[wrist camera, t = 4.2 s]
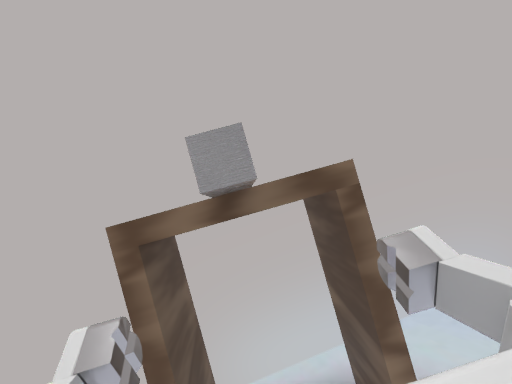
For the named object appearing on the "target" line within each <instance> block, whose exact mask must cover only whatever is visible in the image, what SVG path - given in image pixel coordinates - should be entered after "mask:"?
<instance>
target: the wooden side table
mask: <svg viewBox="0 0 512 384" xmlns="http://www.w3.org/2000/svg"><path fill="white" fill-rule="evenodd" d="M301 199H303V200H304V203H305V207H306V210H307V214H308V217H309V221H310V224H311V228H312V231H313V235H314V238H315V242H316V245H317V249H318V252H319V256H320V260H321V263H322V267H323V270H324V273H325V277H326V281H327V284H328V288H329V291H330V294H331V298H332V302H333V305H334V308H335V312H336V316H337V319H338V323H339V326H340V330H341V333H342V337H343V340H344V344H345V347H346V351H347V354H348V358H349V361H350V365H351V368H352V372H353V375H354V379H355V382H356V384H408V383H411V382H414V381H417V380H416V376H415V373H414V369H413V366H412V362H411V359H410V355H409V352H408V348H407V345H406V342H405V338H404V335H403V331H402V328H401V324H400V321H399V317H398V314H397V310H396V307H395V304H394V300H393V297H392V293H391V290H390V289H389V288H388V287H387V286H386V284H385V283H384V282H383V280H382V278H381V276H380V273H379V270H378V263H377V260H378V258H379V257H380V253H379V252H378V250H377V241H376V238H375V235H374V231H373V228H372V224H371V221H370V217H369V214H368V210H367V207H366V203H365V200H364V196H363V193H362V190H361V186H360V183H359V179H358V176H357V172H356V169H355V165H354V162H353V159H351V160H347V161H344V162H340V163H337V164H333V165H329V166H326V167H323V168H319V169H315V170H312V171H308V172H305V173H301V174H297V175H294V176H290V177H286V178H283V179H279V180H276V181H272V182H268V183H265V184H262V185H258V186H254V187H250V188H247V189H243V190H240V191H236V192H233V193H229V194H225V195H222V196H218V197H215V198H211V199H207V200H204V201H200V202H197V203H193V204H189V205H186V206H183V207H179V208H175V209H172V210H168V211H164V212H161V213H157V214H154V215H150V216H146V217H143V218H140V219H136V220H132V221H129V222H125V223H121V224H118V225H114V226H110V227H107V228H106V232H107V235H108V239H109V243H110V246H111V250H112V254H113V257H114V261H115V265H116V269H117V272H118V276H119V280H120V284H121V287H122V291H123V295H124V298H125V302H126V306H127V309H128V313H129V317H130V321H131V324H132V328H133V332H134V333H135V334H137V336H138V338H139V340H140V343H141V346H142V355H143V358H142V365H143V369H144V373H145V376H146V380H147V384H215V381H214V377H213V374H212V370H211V366H210V363H209V359H208V356H207V352H206V348H205V345H204V341H203V337H202V334H201V330H200V326H199V323H198V319H197V315H196V312H195V308H194V305H193V301H192V297H191V294H190V290H189V286H188V283H187V279H186V276H185V272H184V268H183V265H182V261H181V257H180V254H179V250H178V246H177V243H176V239H175V235H178V234H182V233H185V232H189V231H192V230H196V229H199V228H203V227H207V226H210V225H214V224H217V223H220V222H224V221H228V220H231V219H235V218H238V217H242V216H245V215H249V214H252V213H256V212H259V211H263V210H266V209H270V208H273V207H277V206H280V205H284V204H288V203H291V202H295V201H298V200H301Z"/></svg>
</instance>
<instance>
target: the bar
mask: <svg viewBox="0 0 512 384" xmlns="http://www.w3.org/2000/svg"><path fill="white" fill-rule="evenodd" d="M185 140H186V143H187V147H188V151H189V154H190V158H191V161H192V165H193V169H194V172H195V175H196V179H197V183H198V187H199V190H200V194H203V195H206V196H209V197H212V198H215V197H218V196H222V195H225V194H229V193H233V192H236V191H240V190H243V189H247V188H250V187H252V185H253V183H254V182H255V180H256V179H257V176H256V173H255V169H254V166H253V162H252V158H251V155H250V151H249V148H248V144H247V141H246V137H245V134H244V130H243V127H242V123H237V124H234V125H230V126H226V127H222V128H218V129H215V130H211V131H207V132H203V133H200V134H196V135H192V136H188V137H185Z"/></svg>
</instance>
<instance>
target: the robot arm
mask: <svg viewBox="0 0 512 384" xmlns="http://www.w3.org/2000/svg"><path fill="white" fill-rule="evenodd" d="M377 250H378V252H379V253H380V254H381V255H380V257H379V258H378V260H377V263H378V270H379V273H380V276H381V278H382V280H383V282H384V283H385V284H386V286H387V287H388V288H389V289H392V290H394V291H396V299H397V300H398V302H399V303H400V304H401V305H402V307H403V308H404V309H405V311H406V312H407V313H408V314H409V315H410V314H413V313H417V312H420V311H423V310H427V309H430V308H434V307H436V308H435V309H437V310H439V311H441V312H443V313H445V314H447V315H448V316H450V317H452V318H454V319H456V320H458V321H460V322H462V323H463V324H465V325H467V326H469V327H471V328H473V329H475V330H476V331H478V332H480V333H482V334H484V335H486V336H488V337H489V338H491V339H493V340H495V341H497V342H499V343H501V344H500V348H499V353H497V354H494V355H492V356H489V357H486V358H483V359H480V360H477V361H474V362H471V363H468V364H465V365H462V366H459V367H456V368H453V369H450V370H447V371H444V372H441V373H438V374H435V375H432V376H429V377H426V378H423V379H420V380H417V381H414V382H411V383H408V384H512V268H511V267H508V266H504V265H501V264H497V263H494V262H491V261H487V260H484V259H481V258H477V257H474V256H470V255H467V254H462V255H459V254H458V253H457V252H456V251H455V250H453V249H452V248H451V247H450V246H448V245H447V244H446V243H445V242H444V241H443V240H441V239H440V238H439V237H438V236H437V235H435V234H434V233H433V232H432V231H431V230H429V229H428V228H427V227H426V226H422V225H421V226H418V227H415V228H412V229H409V230H407V231H403V232H400V233H397V234H394V235H390V236H387V237H384V238H381V239H378V240H377ZM142 358H143V355H142V346H141V343H140V340H139V338H138V336H137V334H135V333H133V332H130V323H129V321H128V320H127V318H126V317H120V318H116V319H112V320H109V321H106V322H102V323H98V324H95V325H91V326H89V327H85V328H81V329H78V330H74V331H73V332H72V333H71V334H70V335H69V338H68V340H67V343H66V346H65V349H64V351H63V354H62V357H61V359H60V362H59V365H58V368H57V370H56V373H55V375H54V378H53V381H52V382H51V383H48V384H139V383H140V379H139V377H138V376H137V374H136V373H137V371H138V370H139V369H140V367H141V366H142Z"/></svg>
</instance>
